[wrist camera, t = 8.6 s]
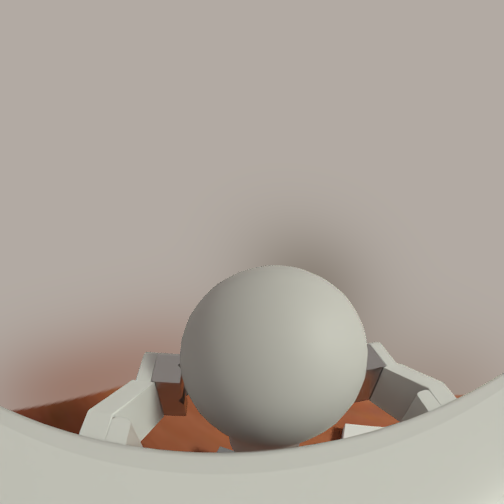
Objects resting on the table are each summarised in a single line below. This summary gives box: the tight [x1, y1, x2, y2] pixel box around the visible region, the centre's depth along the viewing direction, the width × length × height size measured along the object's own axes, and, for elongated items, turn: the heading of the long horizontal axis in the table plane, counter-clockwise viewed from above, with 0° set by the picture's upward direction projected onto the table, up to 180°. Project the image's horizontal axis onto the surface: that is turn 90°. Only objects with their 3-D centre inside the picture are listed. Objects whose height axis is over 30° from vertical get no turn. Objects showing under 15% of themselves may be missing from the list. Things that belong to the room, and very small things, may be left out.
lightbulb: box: [180, 265, 368, 452], centre depth 9 cm, size 6×6×11 cm
